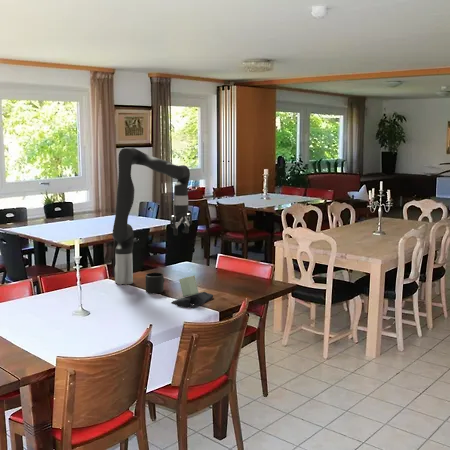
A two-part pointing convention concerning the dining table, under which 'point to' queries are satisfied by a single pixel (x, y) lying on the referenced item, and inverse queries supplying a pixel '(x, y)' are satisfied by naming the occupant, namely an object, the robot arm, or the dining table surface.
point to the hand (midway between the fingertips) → (181, 234)
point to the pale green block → (188, 286)
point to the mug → (154, 282)
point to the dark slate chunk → (193, 300)
